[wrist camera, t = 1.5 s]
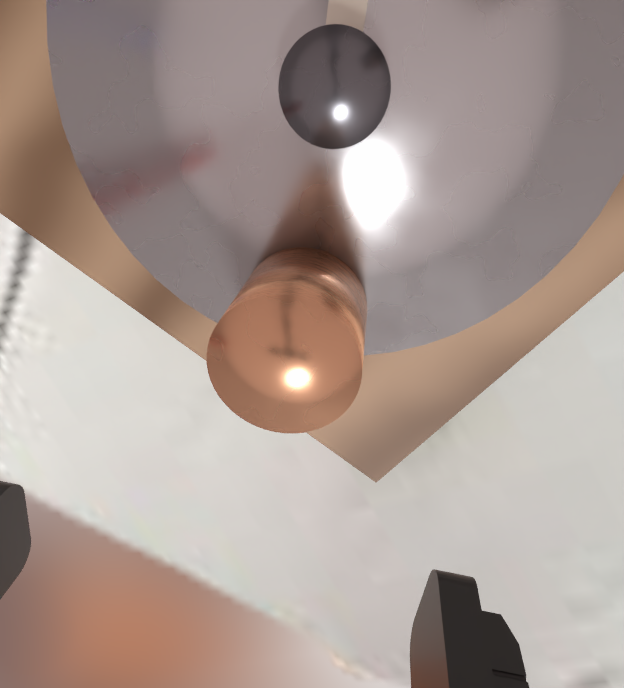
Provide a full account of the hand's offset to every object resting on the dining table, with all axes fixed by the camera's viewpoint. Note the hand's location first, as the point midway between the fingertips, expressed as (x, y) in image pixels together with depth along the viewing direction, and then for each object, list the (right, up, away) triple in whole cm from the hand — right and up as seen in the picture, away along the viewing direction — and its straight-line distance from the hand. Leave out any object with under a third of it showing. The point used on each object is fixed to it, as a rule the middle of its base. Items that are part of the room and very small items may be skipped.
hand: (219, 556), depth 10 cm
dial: (+3, +13, +9) cm, 17 cm away
